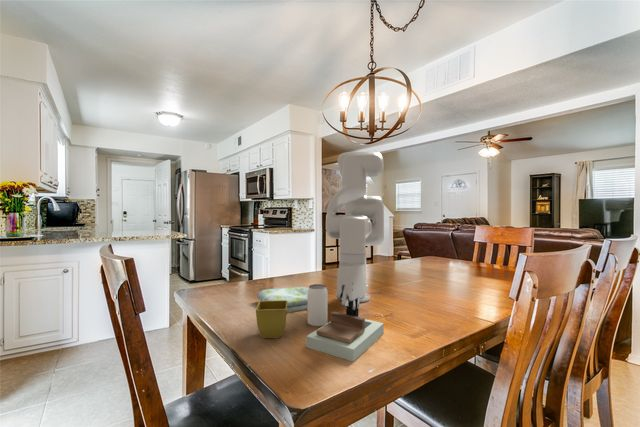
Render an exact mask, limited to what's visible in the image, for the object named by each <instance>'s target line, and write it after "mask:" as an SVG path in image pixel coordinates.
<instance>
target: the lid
mask: <svg viewBox="0 0 640 427" xmlns="http://www.w3.org/2000/svg"><path fill="white" fill-rule="evenodd" d="M365 319H366V318H365V317H361V316H358V317H357V316H352V315H347V314H346V313H343V312H337V311H332V312H330V321H329V322H330V323H329V322H327V323H328V324H327V323H326V324H327V325H325V326H323V327H322V326H321V327H322V328H321V327H320V329H319V328H317V329H318V330H317V329H316V330H317V335H321V336H325V337H328V338H332V339H336V340H339V341H343V342H347V343H351V342H352V341H353V340H354V339H356V338H357V337H358V336H359V335H361V334H362V333H363V332H364V331H365Z"/></svg>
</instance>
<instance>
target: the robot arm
mask: <svg viewBox="0 0 640 427" xmlns="http://www.w3.org/2000/svg"><path fill="white" fill-rule="evenodd" d="M337 167H338V170H339V174H340V177H341V189H340V190H338V192H337V191H336V192H337V193H335V194H334V196H332V198H331V199H330V200H329V203H328V205H327V207H326V208H327V209H326V219H325V232H326V235H327V236H328V238H331V239H334V240H335V239H337V240H339V265H338V271H337V278H336V280H337V281H336V298H337V299H338V300H341V306H343V307H345V314H347V315H352V316H357V317H359V309H360V308H359V307H360V303H364V302H365V303H366V302H369V301H370V299H371V296H370V294H368V293H367V290H369V285H368V284H367V256H366V246H373V247H374V246H381V245H382V244H383V243H384V240H385V209H384V206H385V205H384V201H383V199H382V198H381V197H380V196H378V195H366V193H367V177H371V178H373V177H380V176H382V174H383V172H384V169H385V168H384V167H385V166H384V157H383V155H382V154H381V153H380V151H347V152H342V153H341V154H339V155H338V157H337ZM342 207H344V214H337V211H338V210H339V209H340V208H342Z"/></svg>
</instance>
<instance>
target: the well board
mask: <svg viewBox="0 0 640 427" xmlns="http://www.w3.org/2000/svg"><path fill="white" fill-rule="evenodd" d="M330 322H331V321H329V322H327V323H326V325H327V324H328V323H330ZM384 325H385V324H384V323H383V322H380V321H374V320H372V319H366V318H365V331H364V332H363V333H362V334H361V335H359V336H358V337H357V338H356V339H354V340H353V341H352V342H351V343H347V342H343V341H339V340H336V339H332V338H328V337H325V336H321V335H317V330H318V329H320V328H322V327H323V326H320V328H317V329H316V330H314V331H313V332H311V333H310V334H307V335H306V348H308V349H311V350H314V351H317V352H321V353H324V354H327V355H331V356H334V357H337V358H340V359H343V360H347V361H351V362H355V361H356V360H357V359H358V358H359V357H361V355H363V354H364V353H365V351H366V350H368V349H369V348H370V347H371V346H372V345H373V344H374V343H375V342H377V340H378V339H379V338H380V337H382V335H384V332H385V330H384V329H385V328H384ZM324 326H325V325H324Z"/></svg>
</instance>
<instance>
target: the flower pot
mask: <svg viewBox="0 0 640 427" xmlns="http://www.w3.org/2000/svg"><path fill="white" fill-rule="evenodd" d="M287 303H288V301H287V300H280V301H260V300H259V301H258V303H257V305H256V308H255V316H256V317H255V318H256V325H257V326H256V327H257V329H258V332H259V335H260V336H261V337H262V338H263V339H280V338H281V337H282V336H283V334H284V332H285V330H286V324H287V314H288V313H287Z"/></svg>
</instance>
